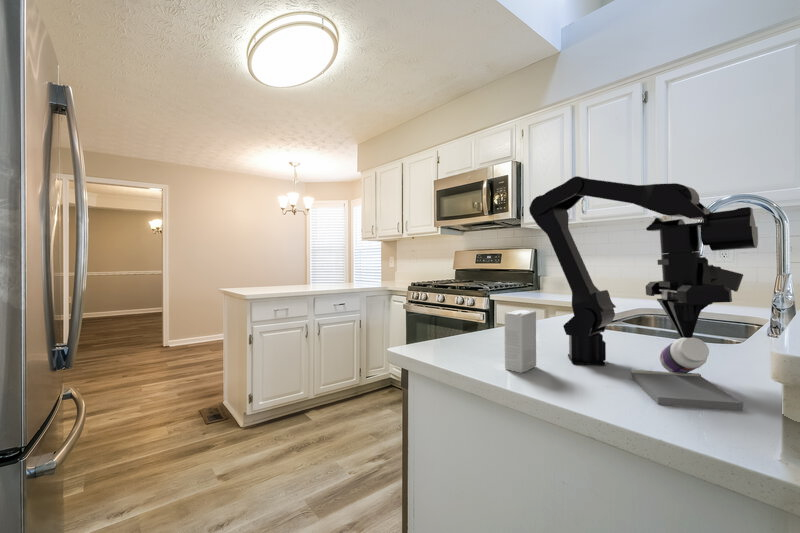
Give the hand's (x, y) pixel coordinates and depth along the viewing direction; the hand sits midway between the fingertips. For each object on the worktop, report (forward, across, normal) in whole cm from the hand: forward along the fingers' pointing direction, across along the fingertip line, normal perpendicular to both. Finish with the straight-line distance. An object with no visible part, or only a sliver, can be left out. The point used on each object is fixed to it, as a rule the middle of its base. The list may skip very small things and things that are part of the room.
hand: (685, 337), depth 68 cm
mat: (+8, -6, +4) cm, 11 cm away
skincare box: (+7, +3, +29) cm, 30 cm away
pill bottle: (+5, +4, 0) cm, 7 cm away
